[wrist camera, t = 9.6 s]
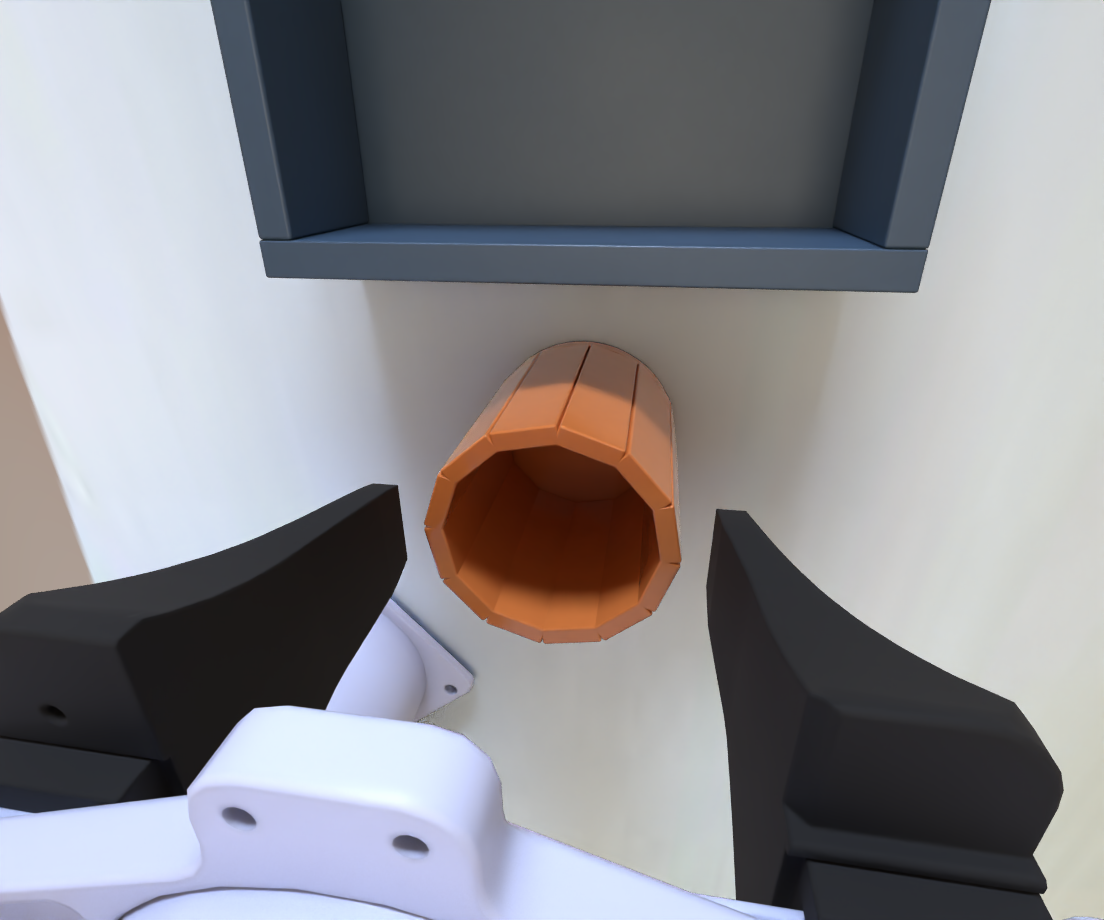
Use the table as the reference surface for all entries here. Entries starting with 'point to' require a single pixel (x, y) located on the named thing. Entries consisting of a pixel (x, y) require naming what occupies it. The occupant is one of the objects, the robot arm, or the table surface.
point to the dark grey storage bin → (600, 138)
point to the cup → (563, 499)
